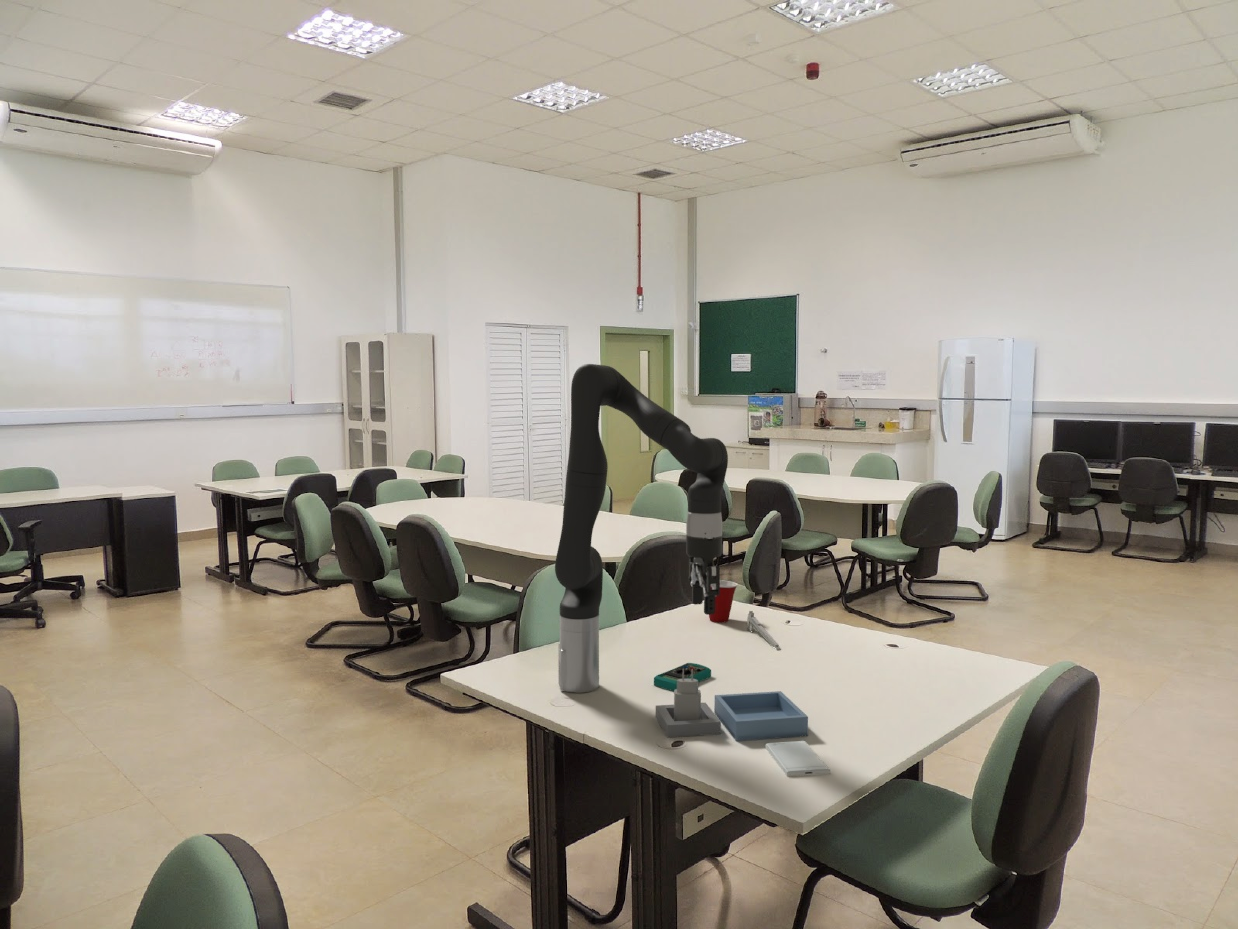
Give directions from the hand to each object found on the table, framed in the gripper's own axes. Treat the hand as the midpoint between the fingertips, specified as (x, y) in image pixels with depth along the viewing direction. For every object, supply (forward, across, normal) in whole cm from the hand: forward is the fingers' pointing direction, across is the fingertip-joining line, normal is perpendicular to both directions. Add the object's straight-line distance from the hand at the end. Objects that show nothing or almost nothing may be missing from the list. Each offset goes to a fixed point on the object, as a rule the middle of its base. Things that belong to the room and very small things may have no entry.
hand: (703, 609), depth 180 cm
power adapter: (+23, +5, -5) cm, 24 cm away
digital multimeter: (+24, -22, +2) cm, 33 cm away
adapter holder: (+23, +5, -5) cm, 24 cm away
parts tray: (+23, +7, +10) cm, 26 cm away
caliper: (+24, -51, +34) cm, 66 cm away
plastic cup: (+23, -74, +29) cm, 82 cm away
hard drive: (+24, +25, +11) cm, 36 cm away
